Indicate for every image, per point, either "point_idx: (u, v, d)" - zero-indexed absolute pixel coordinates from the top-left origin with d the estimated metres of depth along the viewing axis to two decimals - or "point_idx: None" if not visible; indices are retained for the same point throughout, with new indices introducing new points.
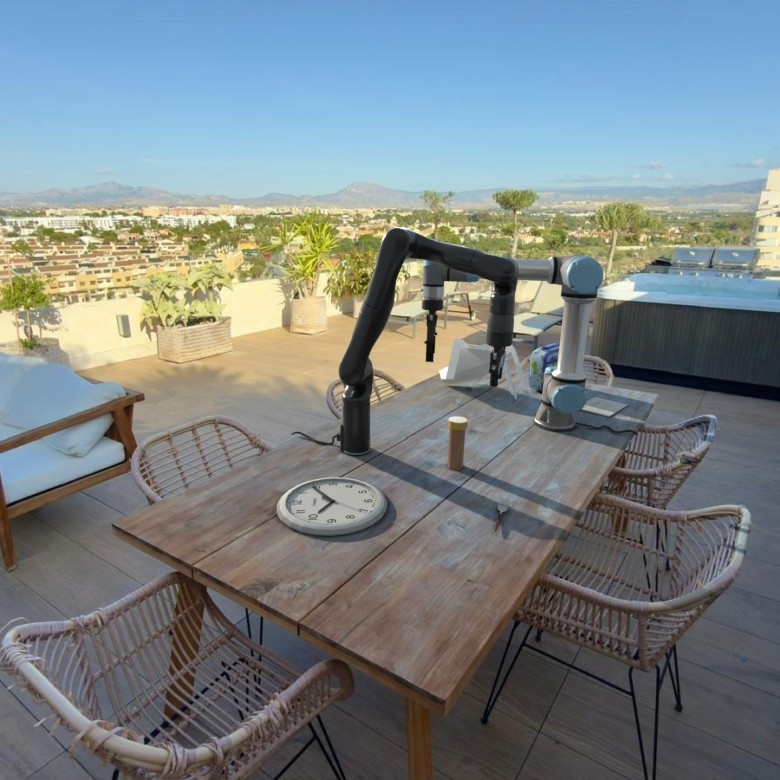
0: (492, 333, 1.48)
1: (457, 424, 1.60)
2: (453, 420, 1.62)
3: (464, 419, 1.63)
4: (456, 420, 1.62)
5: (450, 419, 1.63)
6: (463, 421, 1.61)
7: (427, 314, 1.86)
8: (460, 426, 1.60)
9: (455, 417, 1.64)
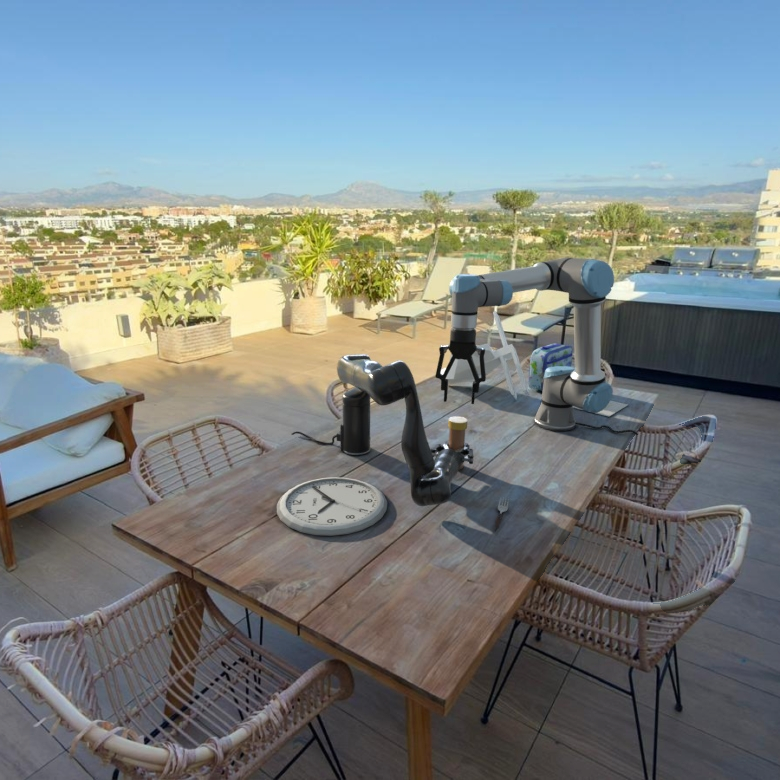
0: None
1: (457, 424, 1.60)
2: (453, 420, 1.62)
3: (464, 419, 1.63)
4: (456, 420, 1.62)
5: (450, 419, 1.63)
6: (463, 421, 1.61)
7: None
8: (460, 426, 1.60)
9: (455, 417, 1.64)
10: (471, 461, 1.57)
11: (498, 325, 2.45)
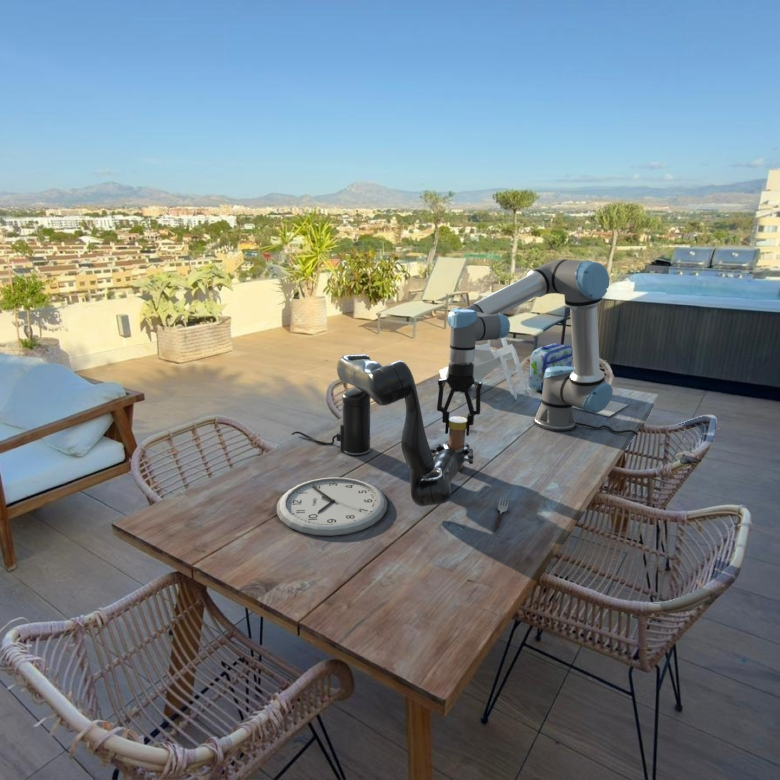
0: None
1: (457, 424, 1.60)
2: (453, 420, 1.62)
3: (464, 419, 1.63)
4: (456, 420, 1.62)
5: (450, 419, 1.63)
6: (463, 421, 1.61)
7: None
8: (460, 426, 1.60)
9: (455, 417, 1.64)
10: (471, 461, 1.57)
11: None
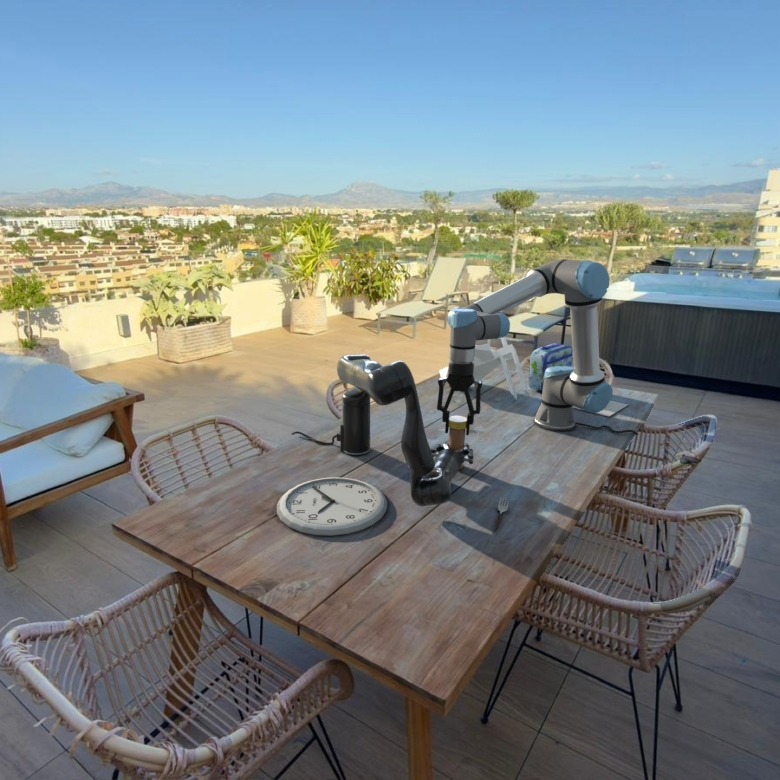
0: None
1: None
2: (463, 419, 1.62)
3: (452, 417, 1.64)
4: (461, 418, 1.63)
5: (464, 420, 1.61)
6: (457, 416, 1.65)
7: None
8: None
9: (455, 420, 1.61)
10: (471, 461, 1.57)
11: None
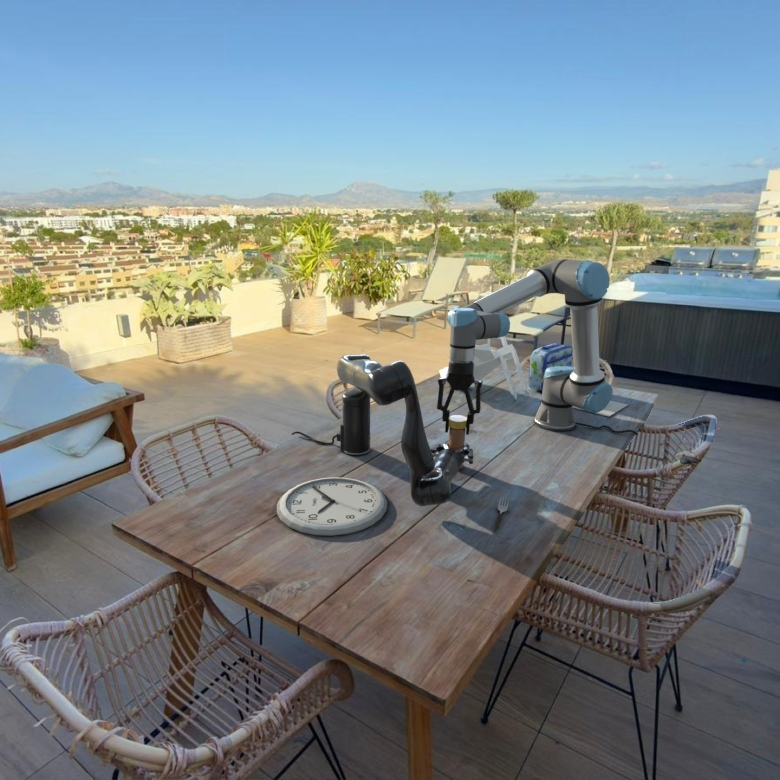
0: None
1: None
2: (454, 416, 1.64)
3: (459, 420, 1.61)
4: (455, 417, 1.63)
5: (456, 415, 1.65)
6: (453, 419, 1.61)
7: None
8: (448, 422, 1.62)
9: (463, 417, 1.63)
10: (471, 461, 1.57)
11: None
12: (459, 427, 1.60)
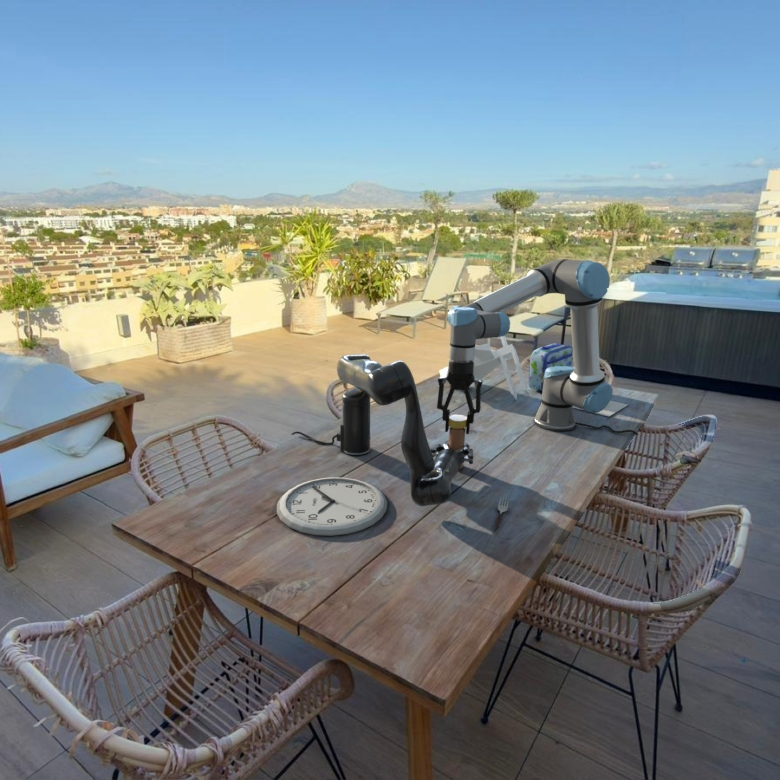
0: None
1: (464, 421, 1.60)
2: (457, 419, 1.61)
3: (461, 416, 1.64)
4: (459, 418, 1.62)
5: (453, 419, 1.61)
6: (465, 417, 1.62)
7: None
8: (466, 423, 1.61)
9: (452, 416, 1.63)
10: (471, 461, 1.57)
11: None
12: None
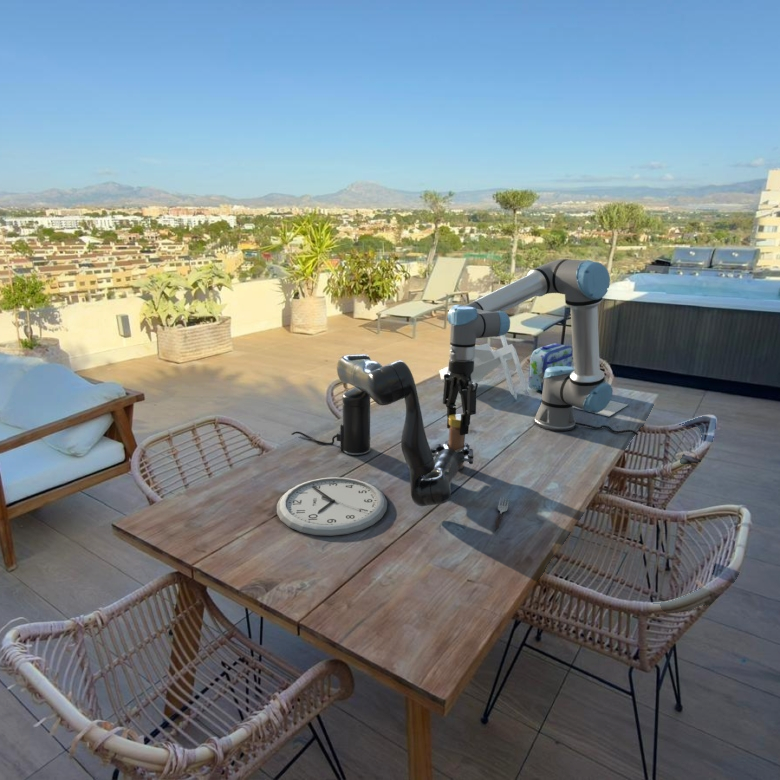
0: None
1: None
2: None
3: (451, 417, 1.62)
4: (459, 416, 1.63)
5: None
6: (452, 415, 1.64)
7: (453, 377, 1.59)
8: None
9: None
10: (471, 461, 1.57)
11: None
12: None
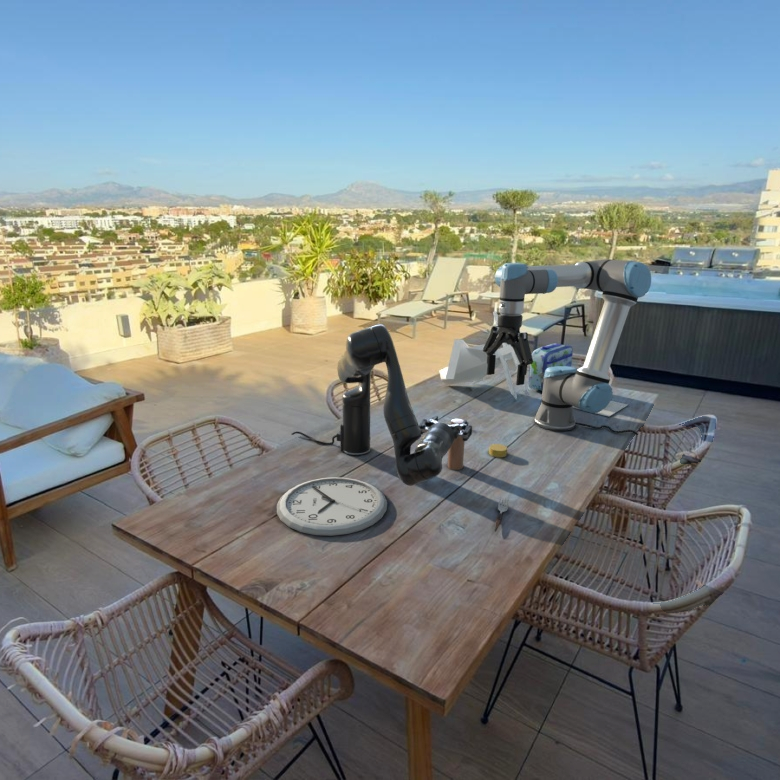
0: None
1: None
2: (502, 446, 1.77)
3: (492, 447, 1.76)
4: (499, 446, 1.77)
5: (505, 447, 1.77)
6: (492, 445, 1.78)
7: (502, 332, 1.65)
8: None
9: (501, 449, 1.75)
10: (464, 438, 1.41)
11: None
12: (489, 452, 1.77)
